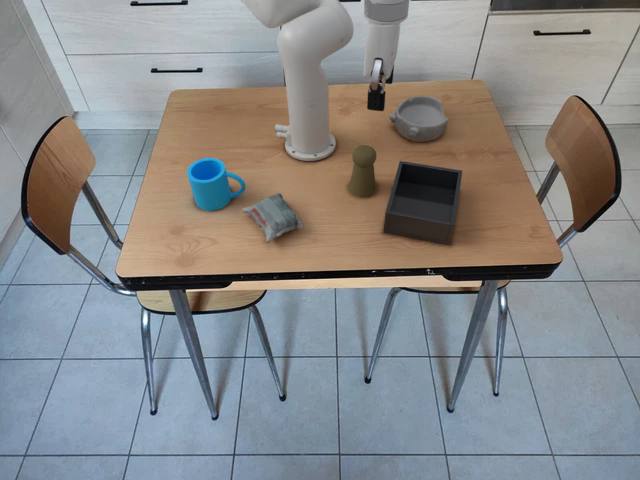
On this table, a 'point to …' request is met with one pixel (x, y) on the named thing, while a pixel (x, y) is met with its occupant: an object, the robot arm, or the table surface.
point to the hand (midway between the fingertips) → (380, 95)
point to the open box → (423, 202)
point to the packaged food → (274, 216)
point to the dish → (420, 118)
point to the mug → (212, 183)
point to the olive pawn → (363, 171)
